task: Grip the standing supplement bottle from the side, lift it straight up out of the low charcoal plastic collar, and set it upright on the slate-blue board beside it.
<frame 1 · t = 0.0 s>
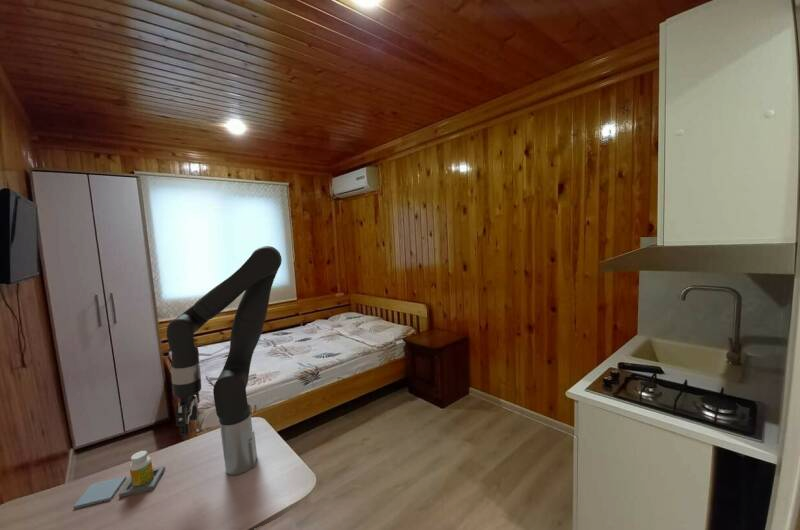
hand: (189, 426, 103), 17 cm above the table, tool pointing down, fingers open, 8 cm apart
collar: (143, 482, 103), on the table
board: (101, 492, 100), on the table
supplement bottle: (143, 483, 103), resting in collar
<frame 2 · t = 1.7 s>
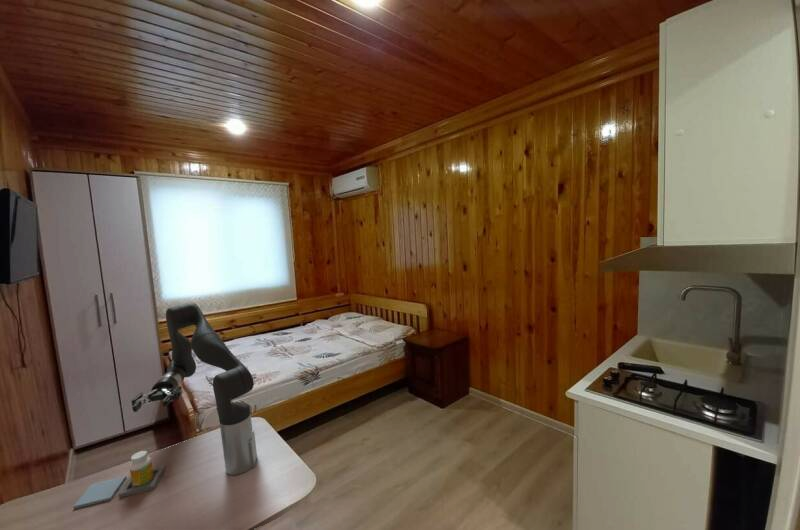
hand: (149, 406, 111), 20 cm above the table, tool horizontal, fingers open, 8 cm apart
nothing on the table moved.
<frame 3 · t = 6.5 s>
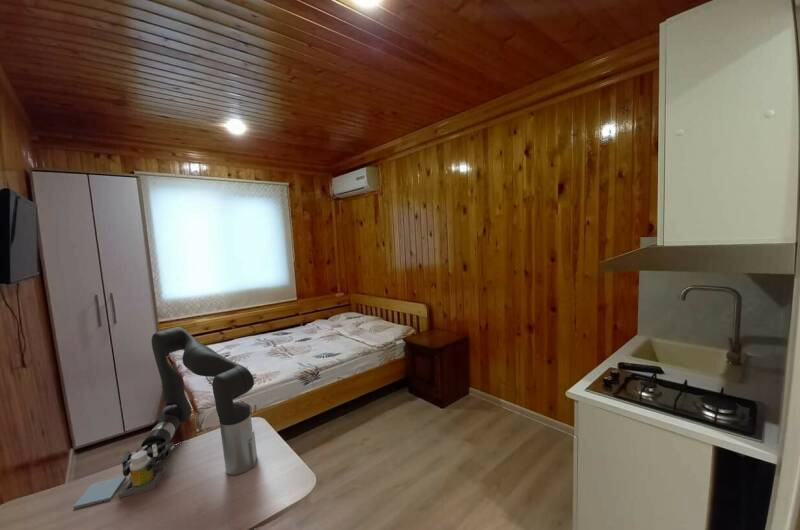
hand: (137, 470, 100), 6 cm above the table, tool horizontal, fingers closed on supplement bottle, 5 cm apart
supplement bottle: (143, 483, 103), resting in collar, touching gripper
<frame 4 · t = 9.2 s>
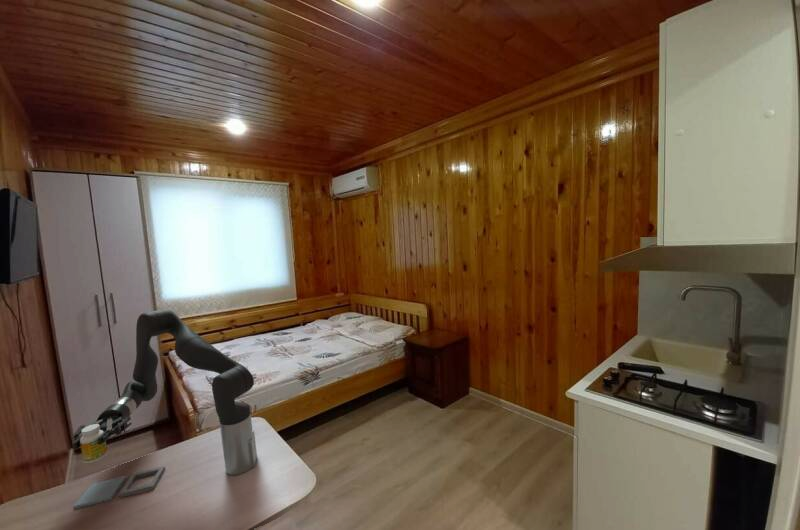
hand: (87, 444, 96), 18 cm above the table, tool horizontal, fingers closed on supplement bottle, 5 cm apart
supplement bottle: (96, 457, 99), point 12 cm above the table, touching gripper
when the fingers open (8 cm above the table, at t = 12.0 s): supplement bottle stays where it is, resting on board.
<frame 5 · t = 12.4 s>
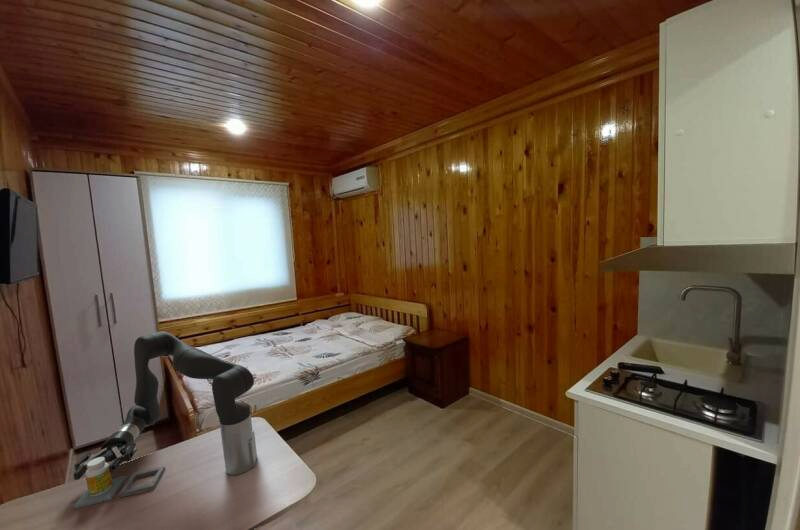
hand: (93, 473, 97), 8 cm above the table, tool horizontal, fingers open, 8 cm apart
supplement bottle: (101, 490, 100), point 1 cm above the table, touching board
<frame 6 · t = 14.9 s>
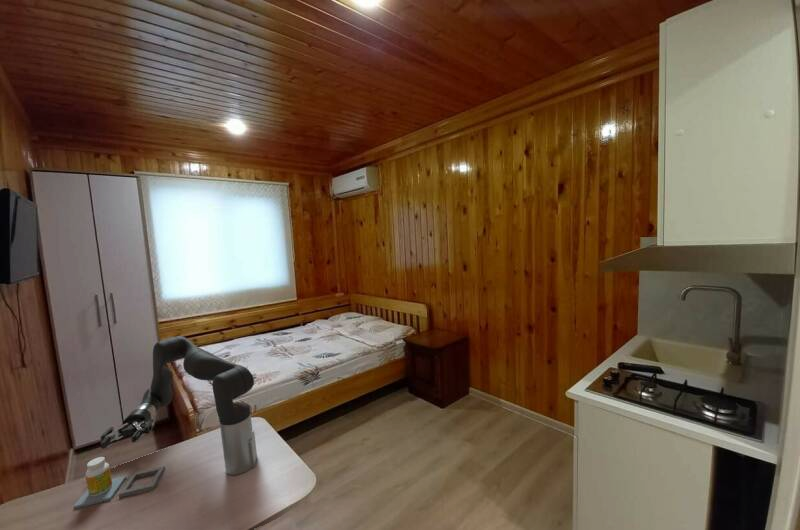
hand: (118, 443, 110), 9 cm above the table, tool horizontal, fingers open, 8 cm apart
nothing on the table moved.
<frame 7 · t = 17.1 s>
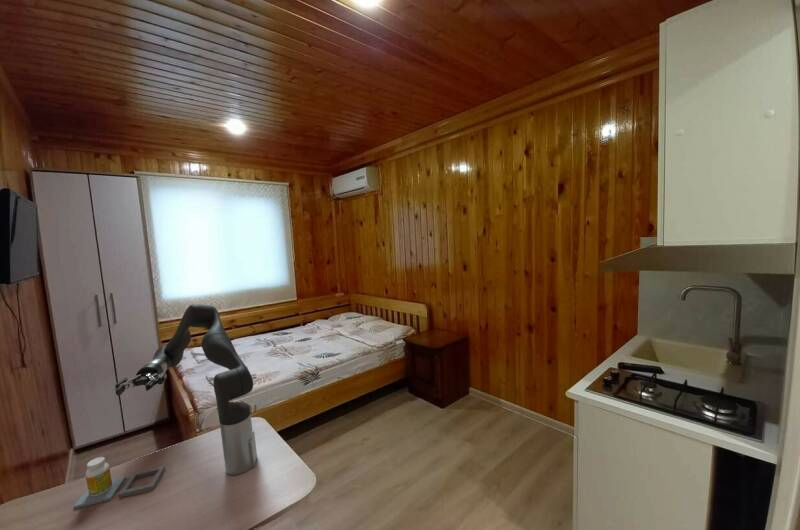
hand: (132, 390, 113), 25 cm above the table, tool horizontal, fingers open, 8 cm apart
nothing on the table moved.
at the end: supplement bottle 0.1 cm off-centre on the board, point 0.6 cm above the board's base; supplement bottle tilted 0°; the gripper is holding nothing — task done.
